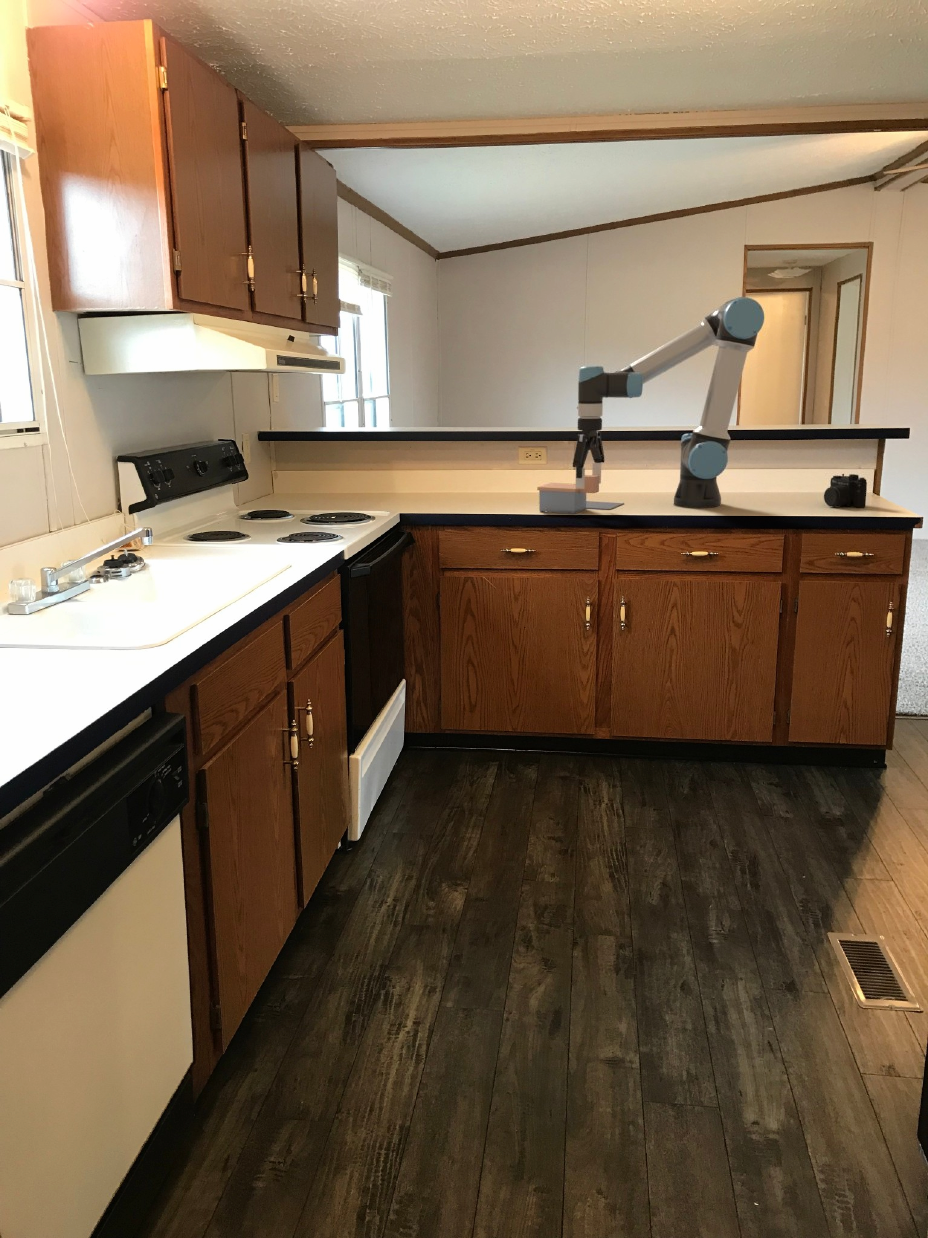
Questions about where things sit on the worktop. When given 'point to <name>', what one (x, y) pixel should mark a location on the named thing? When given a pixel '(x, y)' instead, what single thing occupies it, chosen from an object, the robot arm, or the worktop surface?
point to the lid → (590, 486)
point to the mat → (602, 505)
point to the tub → (562, 501)
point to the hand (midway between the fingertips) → (588, 485)
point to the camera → (846, 491)
